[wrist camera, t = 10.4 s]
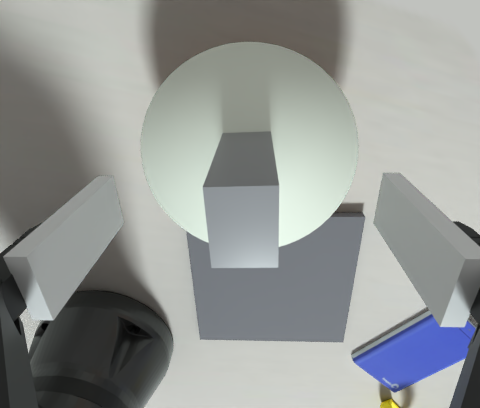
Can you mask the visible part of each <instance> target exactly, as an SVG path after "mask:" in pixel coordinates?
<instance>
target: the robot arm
mask: <svg viewBox="0 0 480 408" xmlns="http://www.w3.org/2000/svg"><path fill="white" fill-rule="evenodd" d="M373 223H374V225H375V226H376V228H377V229H378V231H379V232H380V234H381V236H382V237H383V239H384V240H385V242H386V243H387V245H388V246H389V248H390V250H391V251H392V253H393V254H394V256H395V257H396V259H397V260H398V262H399V264H400V265H401V267H402V268H403V270H404V271H405V273H406V275H407V276H408V278H409V279H410V281H411V282H412V284H413V285H414V287H415V289H416V290H417V292H418V293H419V295H420V296H421V298H422V299H423V301H424V303H425V304H426V306H427V307H428V309H429V310H430V312H431V314H432V315H433V317H434V318H435V320H436V321H437V323H438V324H439V326H440V327H465V325H466V322H467V320H468V318H469V315H470V313H471V315H472V316H473V317H474V319H475V320H476V321H477V322H478V325H477V327H476V329H475V332H474V334H473V336H472V338H471V341H470V343H469V345H468V347H467V348H469V350H468V353H467V356H466V359H465V362H464V365H463V368H462V371H461V374H460V377H459V380H458V383H457V386H456V389H455V392H454V395H453V398H452V401H451V404H450V407H449V408H480V235H479V234H478V233H477V232H475V231H474V230H473V229H472V228H470V227H468V226H466V225H464V224H462V223H460V222H452V221H451V220H450V219H449V218H448V217H447V216H446V215H445V214H444V213H443V212H442V211H440V210H439V209H438V208H437V207H436V206H435V205H434V204H433V203H432V202H431V201H430V200H429V199H427V198H426V197H425V196H424V195H423V194H422V193H421V192H420V191H419V190H418V189H417V188H416V187H414V186H413V185H412V184H411V183H410V182H409V181H408V180H407V179H406V178H405V177H404V176H403V175H401V174H400V173H383V176H382V181H381V186H380V191H379V196H378V202H377V207H376V212H375V217H374V222H373ZM123 224H124V220H123V216H122V211H121V207H120V203H119V198H118V194H117V190H116V186H115V181H114V177H113V176H97V177H96V178H95V179H94V180H93V181H91V182H90V183H89V184H88V185H87V186H86V187H84V188H83V189H82V190H81V191H80V192H79V193H77V194H76V195H75V196H74V197H73V198H71V199H70V200H69V201H68V202H67V203H66V204H64V205H63V206H62V207H61V208H60V209H59V210H57V211H56V212H55V213H54V214H53V215H51V216H50V217H49V218H48V219H47V220H46V221H44V222H43V223H41V224H39V225H37V226H35V227H33V228H31V229H29V230H28V231H27V232H26V233H25V234H23V235H22V236H21V237H20V239H17V240H16V241H15V242H14V243H13V245H10V246H9V247H8V248H6V249H5V250H4V251H3V252H2V253H0V408H144V407H145V405H146V404H147V402H148V401H149V399H150V398H151V396H152V395H153V393H154V391H155V390H156V388H157V387H158V385H159V384H160V382H161V381H162V379H163V378H164V376H165V374H166V372H167V370H168V367H169V363H170V360H171V356H172V352H173V340H172V336H171V333H170V331H169V329H168V327H167V326H166V324H165V323H164V322H163V320H162V319H161V318H160V317H159V316H158V315H157V314H156V313H154V312H153V311H152V310H151V309H149V308H148V307H146V306H145V305H143V304H141V303H140V302H138V301H136V300H133V299H131V298H128V297H126V296H123V295H119V294H115V293H111V292H104V291H84V292H78V293H74V292H75V290H76V289H77V287H78V286H79V285H80V283H81V282H82V281H83V279H84V278H85V276H86V275H87V274H88V272H89V271H90V270H91V268H92V267H93V265H94V264H95V263H96V261H97V260H98V259H99V257H100V256H101V254H102V253H103V252H104V250H105V249H106V248H107V246H108V245H109V243H110V242H111V241H112V239H113V238H114V237H115V235H116V234H117V232H118V231H119V230H120V228H121V227H122V226H123ZM73 293H74V294H73ZM26 308H27V310H28V312H29V314H30V316H31V318H32V320H41V322H40V324H39V325H38V327H37V330H36V332H35V336H34V339H33V341H32V344H31V347H30V350H29V353H28V349H27V344H26V339H25V333H24V328H23V323H22V321H21V319H20V317H19V316H20V315H21V314H22V312H23V311H24V310H25V309H26Z"/></svg>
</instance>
